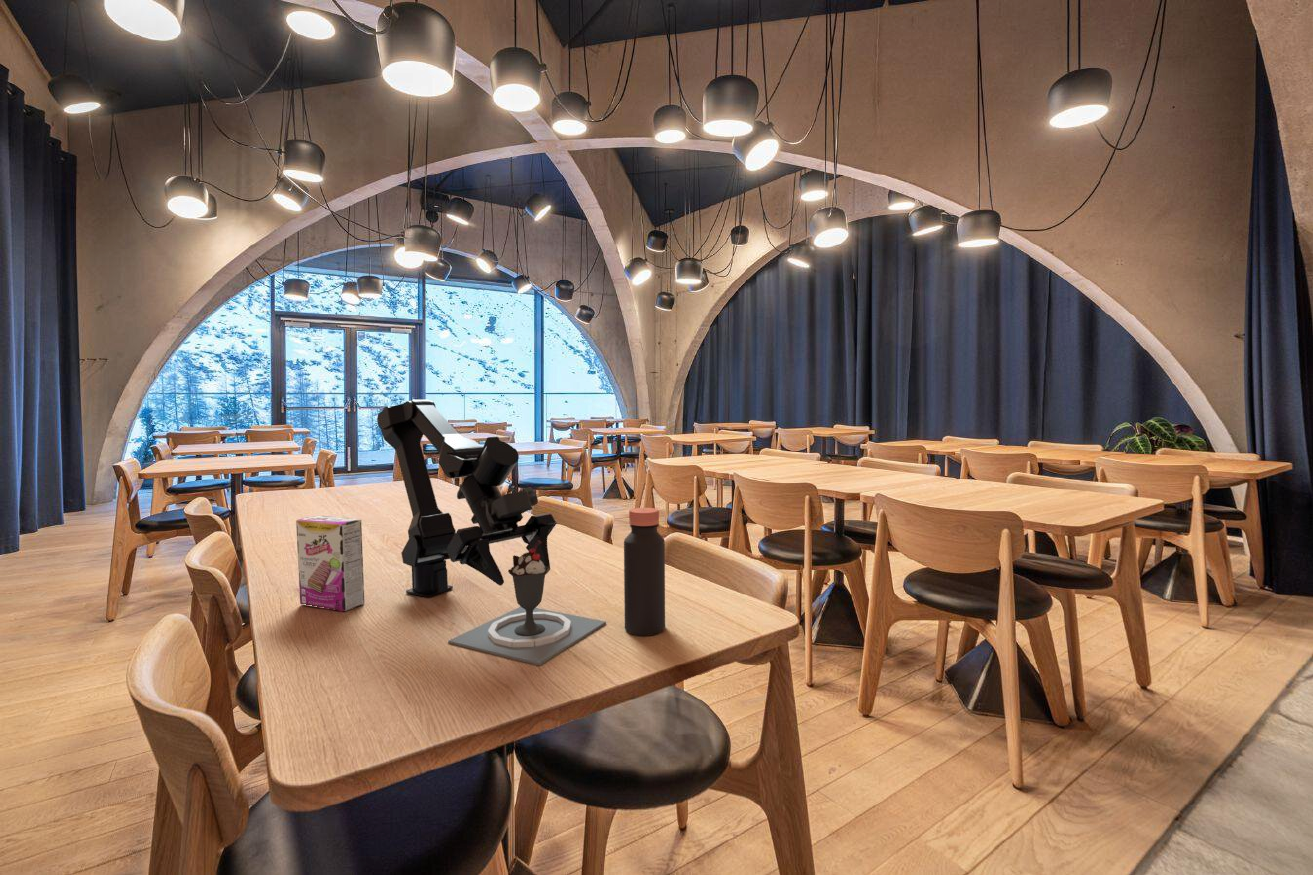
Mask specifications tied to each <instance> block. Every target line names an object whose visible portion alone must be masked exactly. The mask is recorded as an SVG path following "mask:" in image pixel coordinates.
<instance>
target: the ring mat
mask: <svg viewBox="0 0 1313 875" xmlns="http://www.w3.org/2000/svg"><path fill="white" fill-rule="evenodd" d="M533 619H534V622H535V623H536V624H541V625H543V626H544V627H545V630H544V631H543V632H542V633H540V634H536V635H531V636H522V635H518V634H516V633H515V631H514V630H515V628H516V627H518V626H520V625H523V624H524V623H525V621H526V610H525V609H524V608H522V607H521V606H518V607H517V608H515V609H513V610H510V611H508V612H507V613H504V614H501V615H500V616H497V617H496V618H493V619H491V620H489V621H487V622H485V623H482V624H481V625H478V626H476V627H474V628H473V629H470V630H467V631H465V632H464V633H462V634H460V635H457V636H455V637H453V638H451V639H449V640H447V643H448V644H450V645H455V646H457V647H458V646H459V647H463V648H466V649H470V650H473V651H474V650H475V651H477V652H482V653H487V654H490V655H491V654H492V655H493V656H494V655H495V656H498V657H503V658H505V659H506V658H507V659H510V660H515V661H519V662H523V663H526V664H530V665H534V666H542V665H543V664H545V663H546V662H548V661H549V660H551V659H553V658H554V657H556V656H557V655H560V654H561V653H562V652H564V651H565V650H567V649H568V648H570V647H572V646H573V645H575V644H576V643H578V642H579V641H581V640H582V639H584V638H586V637H588V636H589V635H590V634H592V633H594V632H595V631H597V630H598V629H600V628H602V627H604V626H605V625H606V624H607V620H606V621H605V620H600V619H595V618H591V617H584V616H580V615H574V614H569V613H565V612H559V611H554V610H547V609H544V608H538V607H536V608H535V609H534V610H533Z"/></svg>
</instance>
